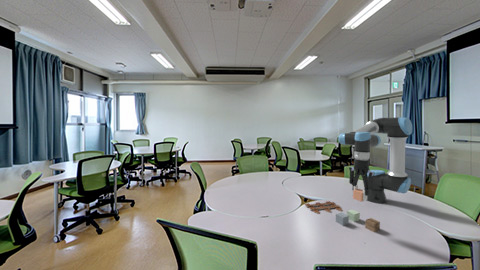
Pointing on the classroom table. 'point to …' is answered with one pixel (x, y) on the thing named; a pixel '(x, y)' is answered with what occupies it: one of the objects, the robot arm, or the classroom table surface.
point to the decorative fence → (323, 207)
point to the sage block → (353, 215)
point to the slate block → (342, 219)
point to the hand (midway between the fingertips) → (360, 198)
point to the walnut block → (372, 224)
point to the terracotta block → (358, 194)
